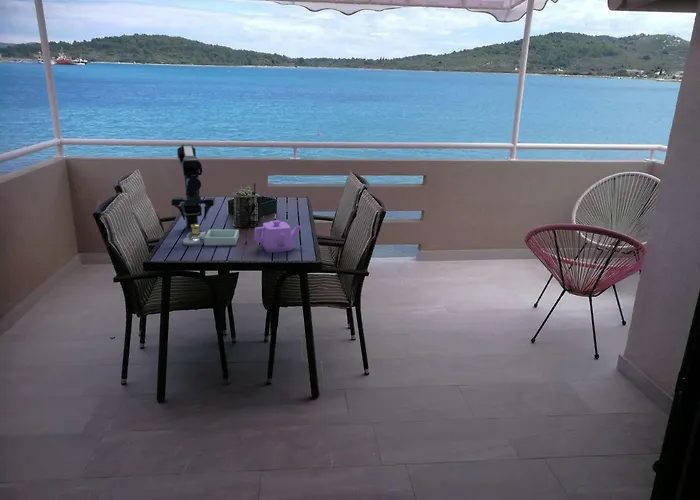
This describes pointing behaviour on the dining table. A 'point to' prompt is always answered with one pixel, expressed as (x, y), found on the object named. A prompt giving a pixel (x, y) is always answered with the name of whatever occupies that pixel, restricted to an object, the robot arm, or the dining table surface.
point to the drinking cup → (259, 199)
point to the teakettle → (276, 236)
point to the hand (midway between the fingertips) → (194, 219)
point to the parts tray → (221, 237)
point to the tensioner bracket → (193, 239)
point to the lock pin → (195, 229)
